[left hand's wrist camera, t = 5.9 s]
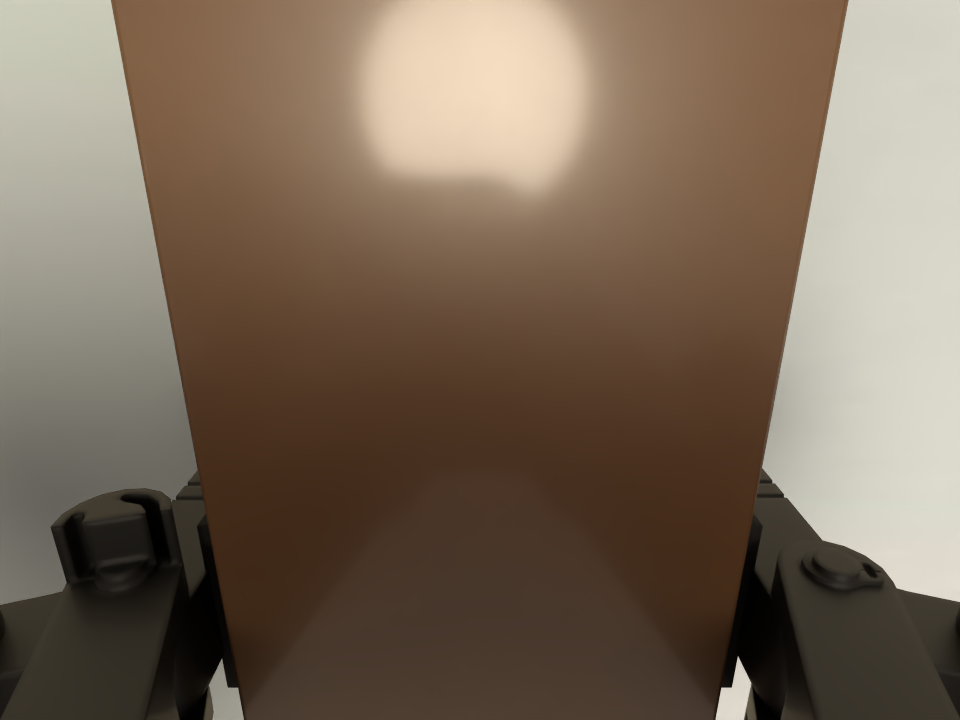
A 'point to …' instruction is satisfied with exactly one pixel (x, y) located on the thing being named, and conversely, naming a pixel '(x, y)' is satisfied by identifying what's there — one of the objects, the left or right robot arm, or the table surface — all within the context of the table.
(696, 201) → the thick board
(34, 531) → the table surface
